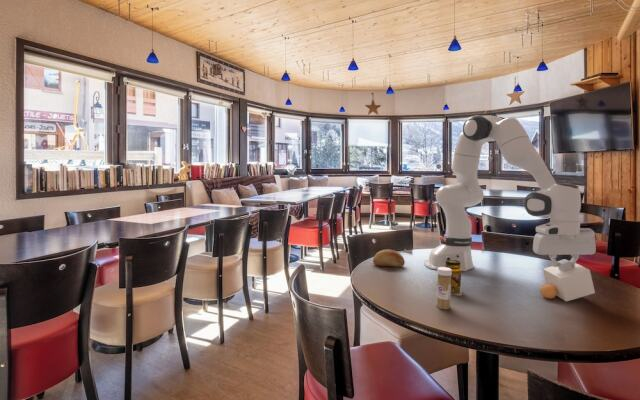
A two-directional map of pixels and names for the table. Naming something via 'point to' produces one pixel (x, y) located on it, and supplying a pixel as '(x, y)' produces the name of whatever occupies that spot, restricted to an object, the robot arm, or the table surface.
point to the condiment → (455, 276)
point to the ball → (548, 291)
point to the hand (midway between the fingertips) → (563, 266)
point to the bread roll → (388, 258)
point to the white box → (569, 280)
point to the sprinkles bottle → (444, 287)
